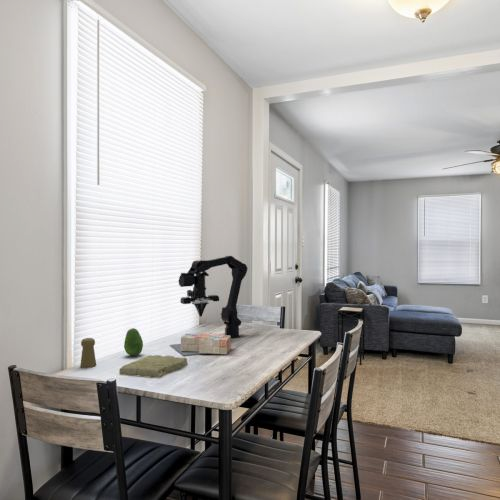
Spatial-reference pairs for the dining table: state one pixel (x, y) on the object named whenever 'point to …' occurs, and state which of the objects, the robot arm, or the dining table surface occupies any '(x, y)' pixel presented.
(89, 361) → the cork
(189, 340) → the stack of blocks
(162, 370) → the decorative tile
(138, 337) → the avocado
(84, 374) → the dining table surface
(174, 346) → the mat
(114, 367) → the dining table surface
